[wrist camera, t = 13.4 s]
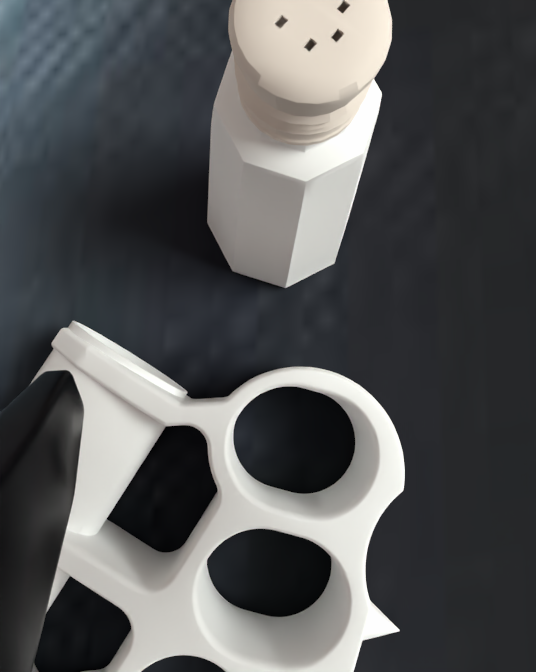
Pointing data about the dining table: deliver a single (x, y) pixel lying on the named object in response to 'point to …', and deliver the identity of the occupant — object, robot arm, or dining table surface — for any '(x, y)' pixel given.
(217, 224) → the salt shaker
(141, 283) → the dining table surface
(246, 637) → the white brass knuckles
